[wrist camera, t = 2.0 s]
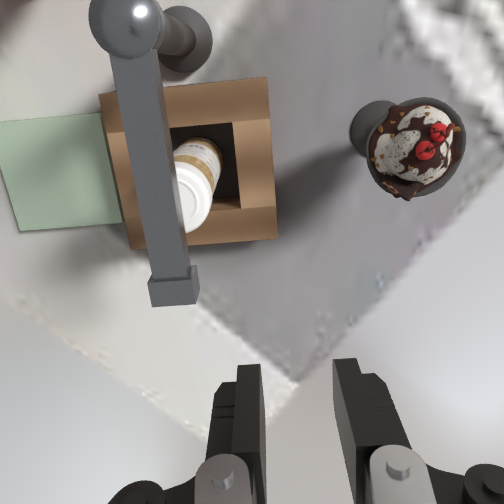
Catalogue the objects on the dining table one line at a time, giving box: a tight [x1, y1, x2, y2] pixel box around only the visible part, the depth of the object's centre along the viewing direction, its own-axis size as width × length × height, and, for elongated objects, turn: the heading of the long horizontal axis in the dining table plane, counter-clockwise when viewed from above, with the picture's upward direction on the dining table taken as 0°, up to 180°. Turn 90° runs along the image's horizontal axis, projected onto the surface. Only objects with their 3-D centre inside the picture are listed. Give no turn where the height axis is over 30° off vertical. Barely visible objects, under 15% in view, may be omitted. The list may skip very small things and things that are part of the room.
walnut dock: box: [98, 6, 278, 250], centre depth 32 cm, size 19×13×16 cm
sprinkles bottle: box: [173, 137, 223, 233], centre depth 34 cm, size 5×5×14 cm
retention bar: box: [89, 0, 200, 307], centre depth 24 cm, size 17×3×2 cm, turn 5°
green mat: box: [0, 112, 125, 231], centre depth 41 cm, size 10×10×1 cm
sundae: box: [351, 97, 466, 201], centre depth 32 cm, size 7×7×15 cm
